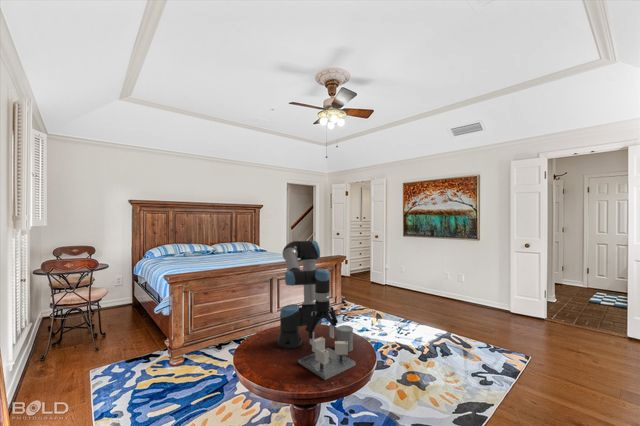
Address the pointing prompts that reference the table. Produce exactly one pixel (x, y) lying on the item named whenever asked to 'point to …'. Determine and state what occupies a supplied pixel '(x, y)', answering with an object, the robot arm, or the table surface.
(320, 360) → the knob
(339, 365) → the grey flat square plate
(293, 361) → the table surface
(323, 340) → the knob back
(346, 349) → the knob
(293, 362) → the table surface
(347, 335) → the gray cylinder
